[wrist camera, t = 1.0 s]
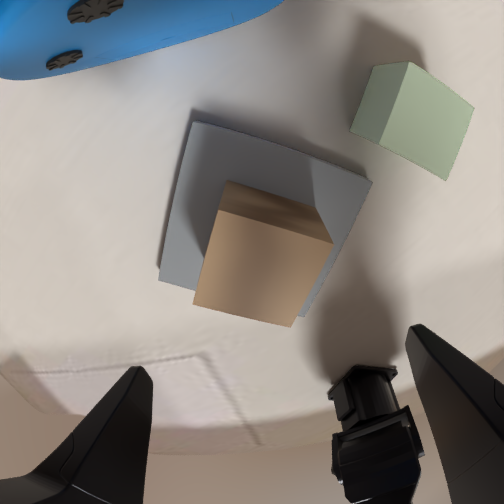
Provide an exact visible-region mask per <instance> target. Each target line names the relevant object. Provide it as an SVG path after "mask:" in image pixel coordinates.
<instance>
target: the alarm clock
mask: <svg viewBox="0 0 504 504" xmlns="http://www.w3.org/2000/svg"><path fill="white" fill-rule="evenodd" d="M283 1H284V0H0V78H3V79H9V80H32V79H40V78H46V77H52V76H57V75H62V74H66V73H71V72H75V71H79V70H83V69H87V68H91V67H95V66H99V65H103V64H107V63H110V62H114V61H118V60H121V59H125V58H129V57H132V56H136V55H140V54H143V53H147V52H150V51H154V50H157V49H161V48H165V47H168V46H172V45H175V44H178V43H182V42H185V41H189V40H192V39H195V38H199V37H202V36H205V35H208V34H212V33H215V32H218V31H221V30H224V29H227V28H230V27H233V26H235V25H238V24H241V23H244V22H246V21H249V20H251V19H253V18H256V17H258V16H260V15H262V14H264V13H266V12H268V11H270V10H271V9H273V8H274V7H276V6H277V5H279V4H280V3H282V2H283Z"/></svg>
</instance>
